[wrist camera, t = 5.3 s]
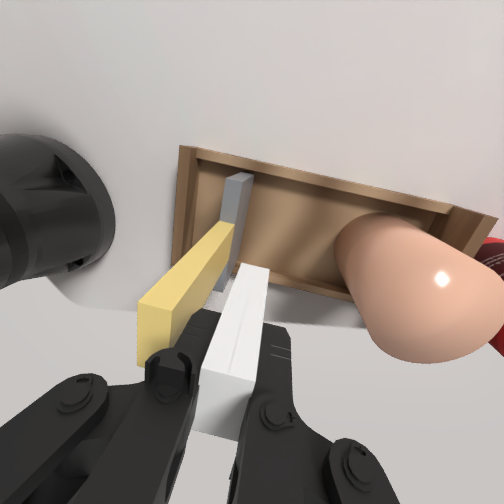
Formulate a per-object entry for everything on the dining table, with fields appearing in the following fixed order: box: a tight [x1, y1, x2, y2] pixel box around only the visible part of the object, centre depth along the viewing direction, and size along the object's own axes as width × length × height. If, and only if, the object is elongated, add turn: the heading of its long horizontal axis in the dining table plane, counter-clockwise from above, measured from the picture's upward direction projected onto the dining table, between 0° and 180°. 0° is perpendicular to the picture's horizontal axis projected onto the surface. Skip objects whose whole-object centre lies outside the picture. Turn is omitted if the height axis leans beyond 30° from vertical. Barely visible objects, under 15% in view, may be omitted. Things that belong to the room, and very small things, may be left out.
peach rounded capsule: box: [334, 212, 504, 364], centre depth 19 cm, size 8×8×11 cm
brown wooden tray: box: [171, 145, 499, 303], centre depth 23 cm, size 25×12×6 cm, turn 78°
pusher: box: [137, 172, 255, 368], centre depth 17 cm, size 1×9×18 cm, turn 168°
